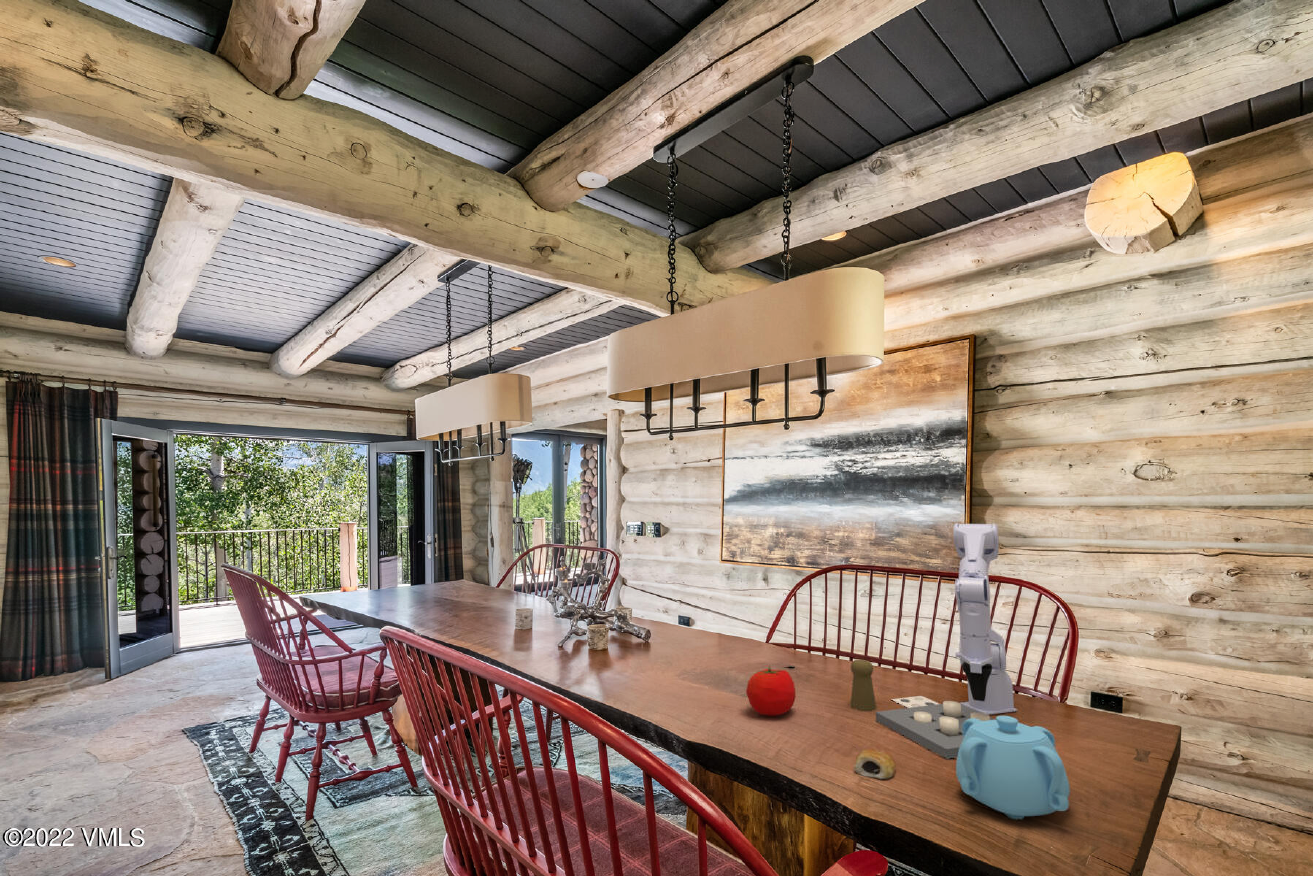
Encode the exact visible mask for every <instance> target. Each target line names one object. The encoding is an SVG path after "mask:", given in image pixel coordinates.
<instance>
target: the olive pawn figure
mask: <svg viewBox="0 0 1313 876" xmlns="http://www.w3.org/2000/svg"><path fill="white" fill-rule="evenodd" d="M850 671H851V673H852V675H853V676H852V687H851V688H852V689H851V698H850V707H852V708H851V709H853V708H855V709H857V710H856V711H859V710H860V712H873V711H872V710H874V711H876V710H877V709H876V708H877V704H876V697H875V691H874V686H873V680H872V675H873V672H874V666H873V663H871V661H869V660H866V659H854V660H853V661H852V662H851V664H850ZM855 709H854V710H855ZM875 709H876V710H875Z"/></svg>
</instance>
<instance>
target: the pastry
mask: <svg viewBox="0 0 1313 876" xmlns="http://www.w3.org/2000/svg"><path fill="white" fill-rule="evenodd" d="M853 768H854V771H855V772H856V774H858V775H860V776H863V777H866V778H867V777H868V778H873V779H874V778H875V779H878V780H888V779H890V778H892V777H893V776H894V775H895V769H896V761H895V759H894V757H893V755H892V754H891V753H890V752H888V751H887V750H883V749H881V748H877V747H876V748H869V749H863V750H862V751H861V752H859V753H858V754H857V755H856V757H855V764H854V765H853Z"/></svg>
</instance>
